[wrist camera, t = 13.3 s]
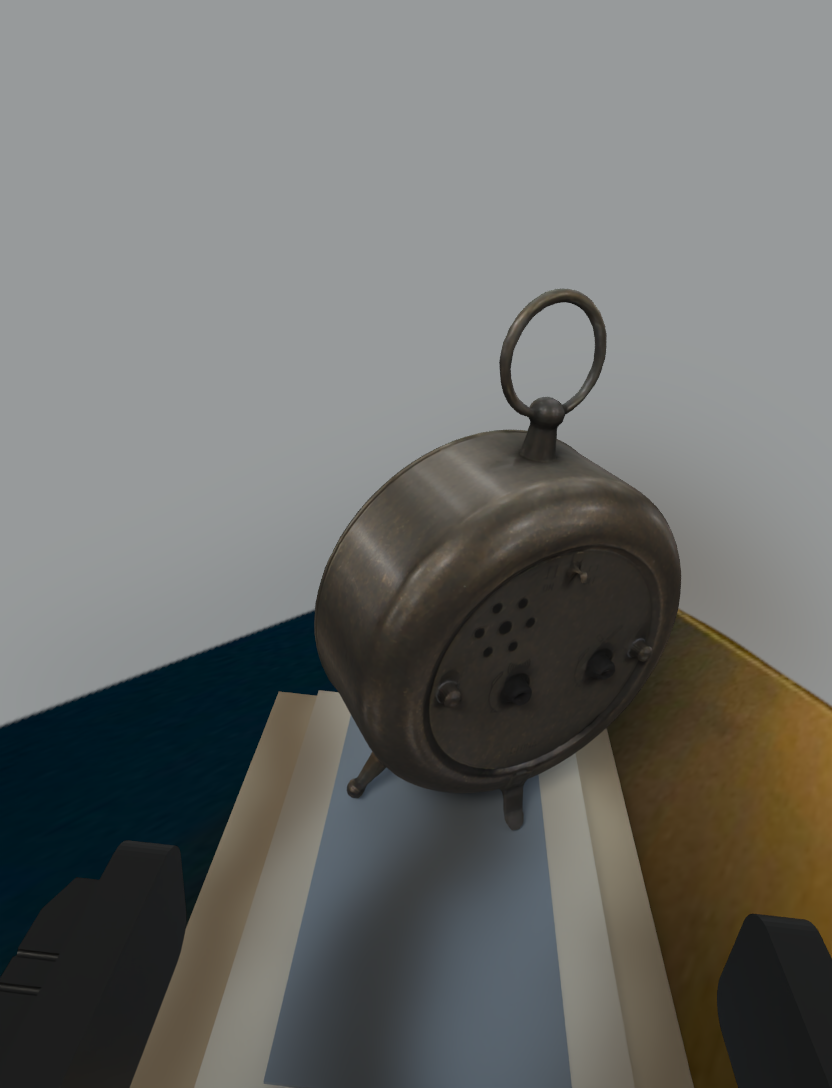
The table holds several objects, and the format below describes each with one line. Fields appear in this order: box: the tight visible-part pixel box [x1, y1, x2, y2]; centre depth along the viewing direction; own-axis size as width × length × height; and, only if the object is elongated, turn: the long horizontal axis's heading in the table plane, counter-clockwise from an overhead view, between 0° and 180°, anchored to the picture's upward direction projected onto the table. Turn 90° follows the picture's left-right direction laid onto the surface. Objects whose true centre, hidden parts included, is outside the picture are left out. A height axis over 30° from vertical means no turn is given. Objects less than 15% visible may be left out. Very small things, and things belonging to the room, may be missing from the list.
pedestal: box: [130, 691, 694, 1088], centre depth 23 cm, size 14×18×4 cm
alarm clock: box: [314, 289, 681, 830], centre depth 21 cm, size 11×5×16 cm, turn 117°
